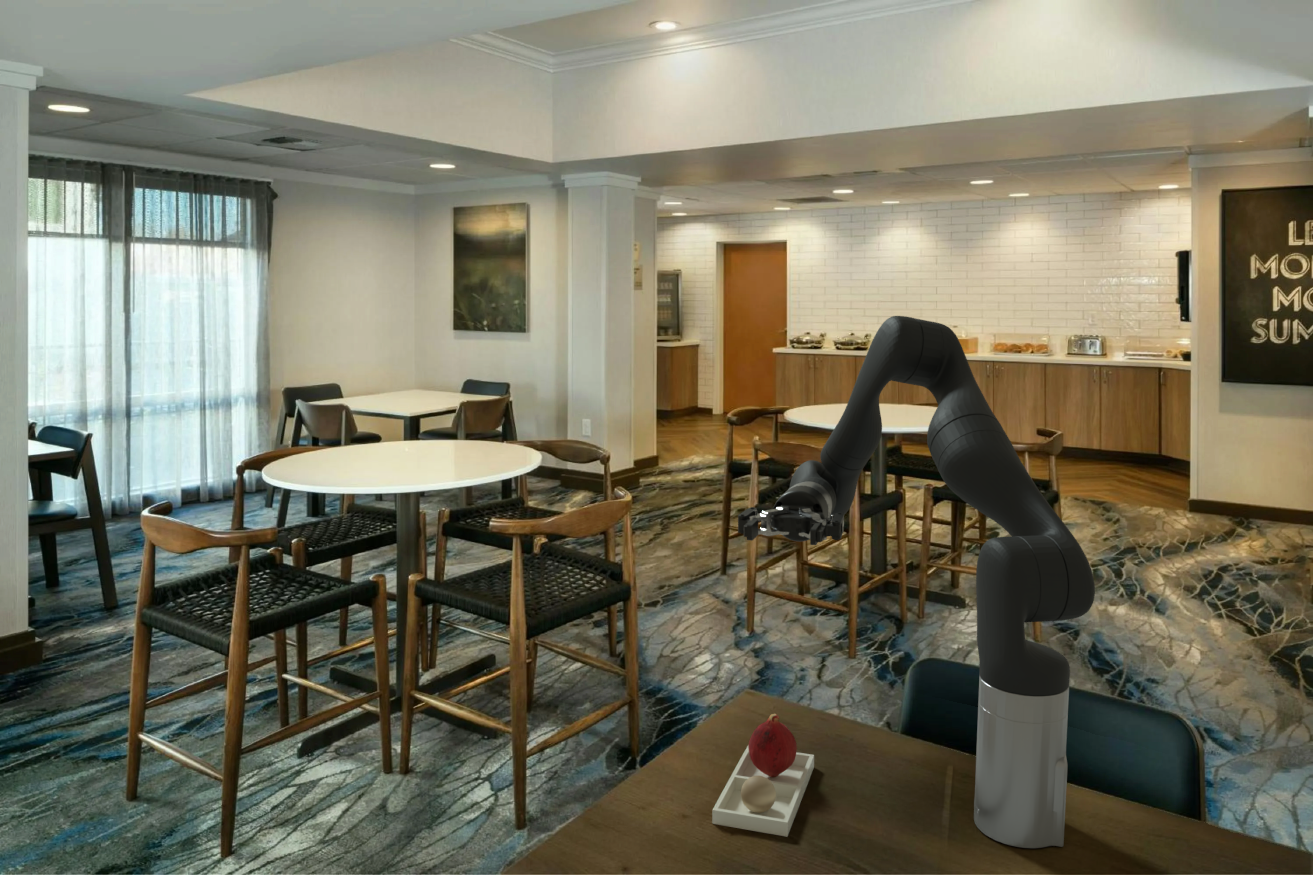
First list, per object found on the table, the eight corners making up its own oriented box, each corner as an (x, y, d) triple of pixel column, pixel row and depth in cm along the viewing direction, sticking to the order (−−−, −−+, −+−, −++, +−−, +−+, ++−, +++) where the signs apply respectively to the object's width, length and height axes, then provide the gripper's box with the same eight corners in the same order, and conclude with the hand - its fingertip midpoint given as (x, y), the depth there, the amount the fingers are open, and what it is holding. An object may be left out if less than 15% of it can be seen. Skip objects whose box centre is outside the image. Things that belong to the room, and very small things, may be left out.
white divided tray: (813, 772, 120) (814, 754, 119) (787, 842, 104) (787, 822, 104) (747, 762, 122) (747, 745, 122) (712, 829, 107) (712, 809, 107)
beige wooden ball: (779, 804, 111) (779, 771, 110) (771, 822, 107) (771, 788, 106) (745, 798, 112) (745, 766, 111) (737, 816, 108) (736, 783, 108)
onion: (780, 793, 113) (781, 729, 112) (739, 779, 116) (739, 717, 115) (804, 774, 118) (805, 712, 116) (764, 761, 121) (764, 701, 120)
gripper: (756, 482, 143) (728, 504, 128) (852, 487, 138) (835, 510, 123) (756, 531, 144) (728, 558, 129) (851, 538, 139) (834, 567, 124)
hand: (780, 535), depth 126 cm, fingers open, 8 cm apart
